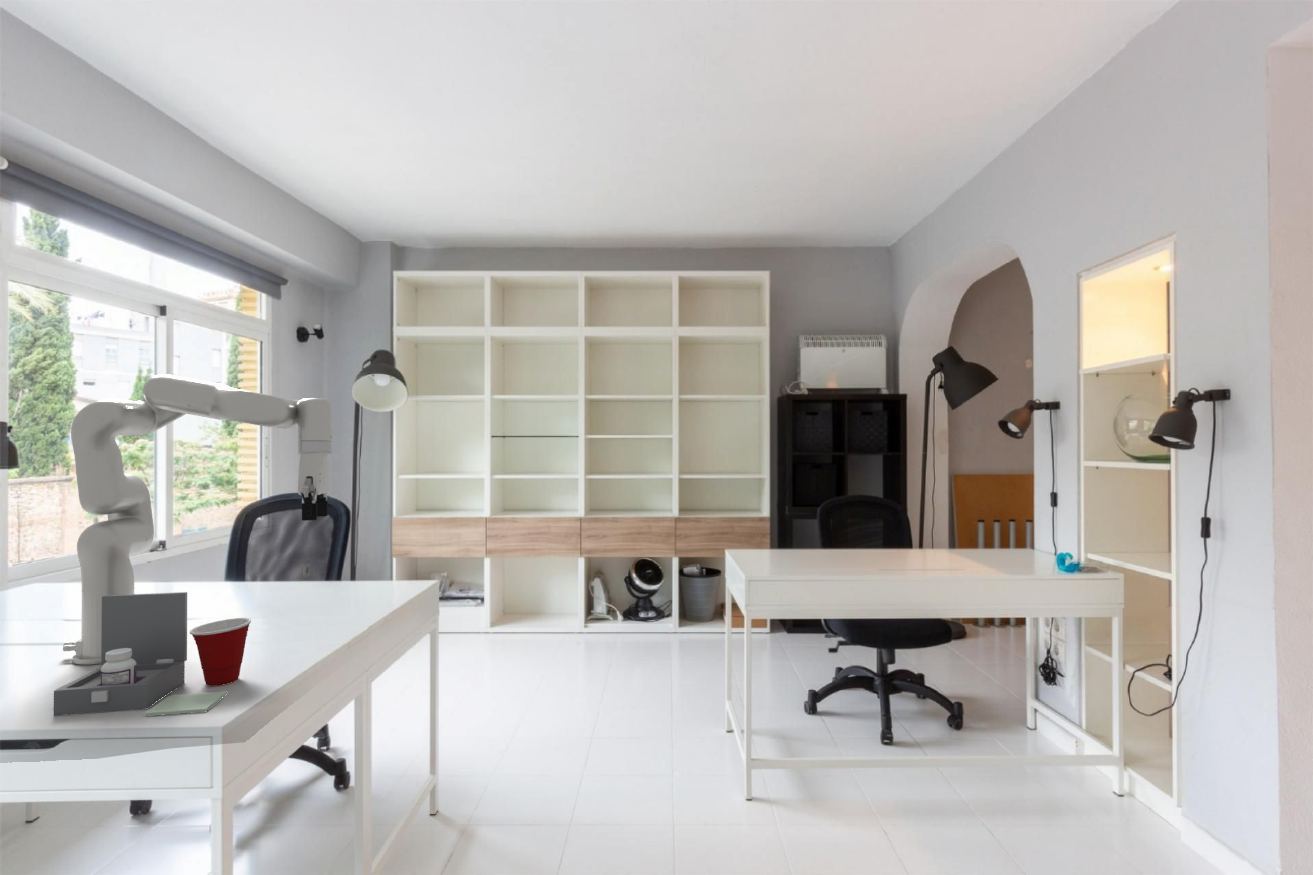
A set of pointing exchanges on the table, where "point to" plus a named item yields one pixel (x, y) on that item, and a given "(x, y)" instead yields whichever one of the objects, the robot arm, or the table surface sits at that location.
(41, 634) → the table surface
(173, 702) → the sage mat
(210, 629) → the plastic cup
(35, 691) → the table surface
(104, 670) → the pill bottle
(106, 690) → the equipment case
